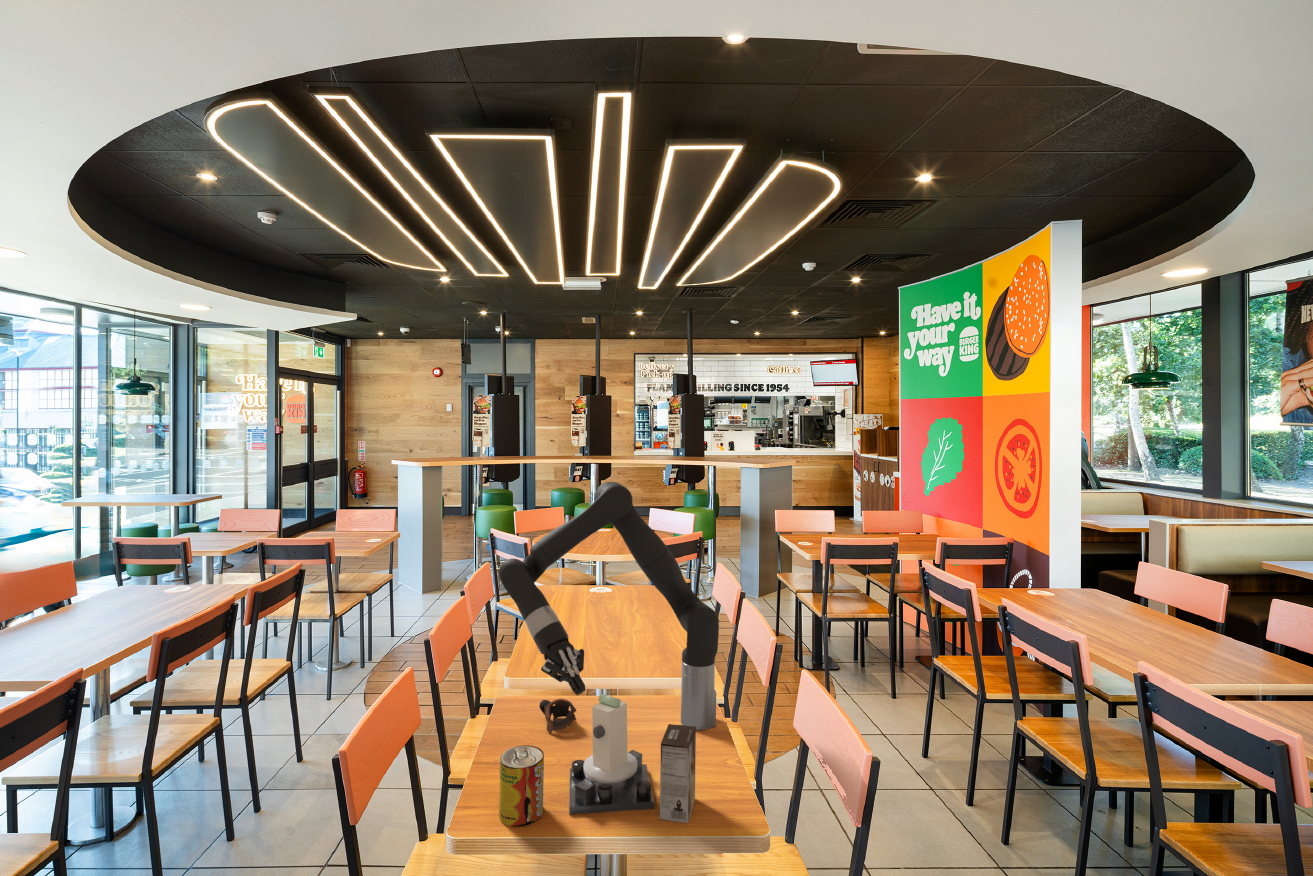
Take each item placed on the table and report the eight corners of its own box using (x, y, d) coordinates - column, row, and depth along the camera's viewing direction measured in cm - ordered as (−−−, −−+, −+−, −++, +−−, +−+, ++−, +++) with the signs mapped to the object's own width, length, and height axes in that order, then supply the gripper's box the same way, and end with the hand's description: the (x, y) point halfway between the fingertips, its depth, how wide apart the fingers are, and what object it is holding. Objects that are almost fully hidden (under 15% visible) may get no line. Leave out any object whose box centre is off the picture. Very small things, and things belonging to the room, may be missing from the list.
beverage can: (502, 831, 121) (503, 771, 121) (495, 806, 129) (496, 750, 129) (547, 820, 125) (548, 762, 125) (537, 796, 133) (538, 742, 133)
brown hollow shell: (583, 722, 169) (583, 703, 165) (564, 750, 162) (563, 731, 158) (548, 703, 174) (547, 684, 170) (528, 729, 167) (526, 710, 162)
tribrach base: (646, 769, 144) (646, 749, 144) (654, 809, 129) (654, 786, 129) (569, 774, 142) (570, 752, 142) (569, 815, 127) (569, 791, 127)
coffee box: (666, 794, 135) (668, 722, 135) (695, 798, 133) (696, 725, 133) (658, 820, 126) (660, 742, 126) (689, 824, 124) (690, 746, 124)
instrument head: (609, 753, 144) (608, 681, 144) (648, 768, 137) (647, 692, 137) (571, 775, 134) (570, 698, 135) (612, 793, 127) (611, 712, 127)
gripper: (533, 627, 142) (569, 693, 134) (573, 614, 152) (609, 675, 145) (517, 645, 145) (552, 710, 137) (558, 631, 155) (592, 692, 148)
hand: (581, 692), depth 141 cm, fingers closed
